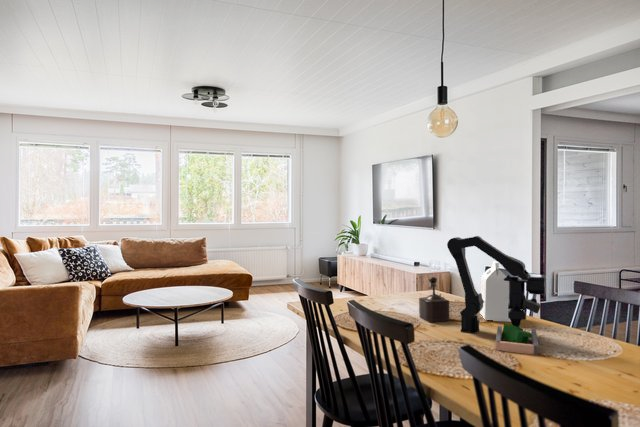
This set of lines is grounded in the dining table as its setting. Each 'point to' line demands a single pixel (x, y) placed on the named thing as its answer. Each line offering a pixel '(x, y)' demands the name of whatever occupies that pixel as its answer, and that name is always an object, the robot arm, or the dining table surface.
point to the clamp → (515, 334)
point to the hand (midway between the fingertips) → (516, 331)
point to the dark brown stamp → (434, 306)
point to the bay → (517, 344)
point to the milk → (495, 294)
